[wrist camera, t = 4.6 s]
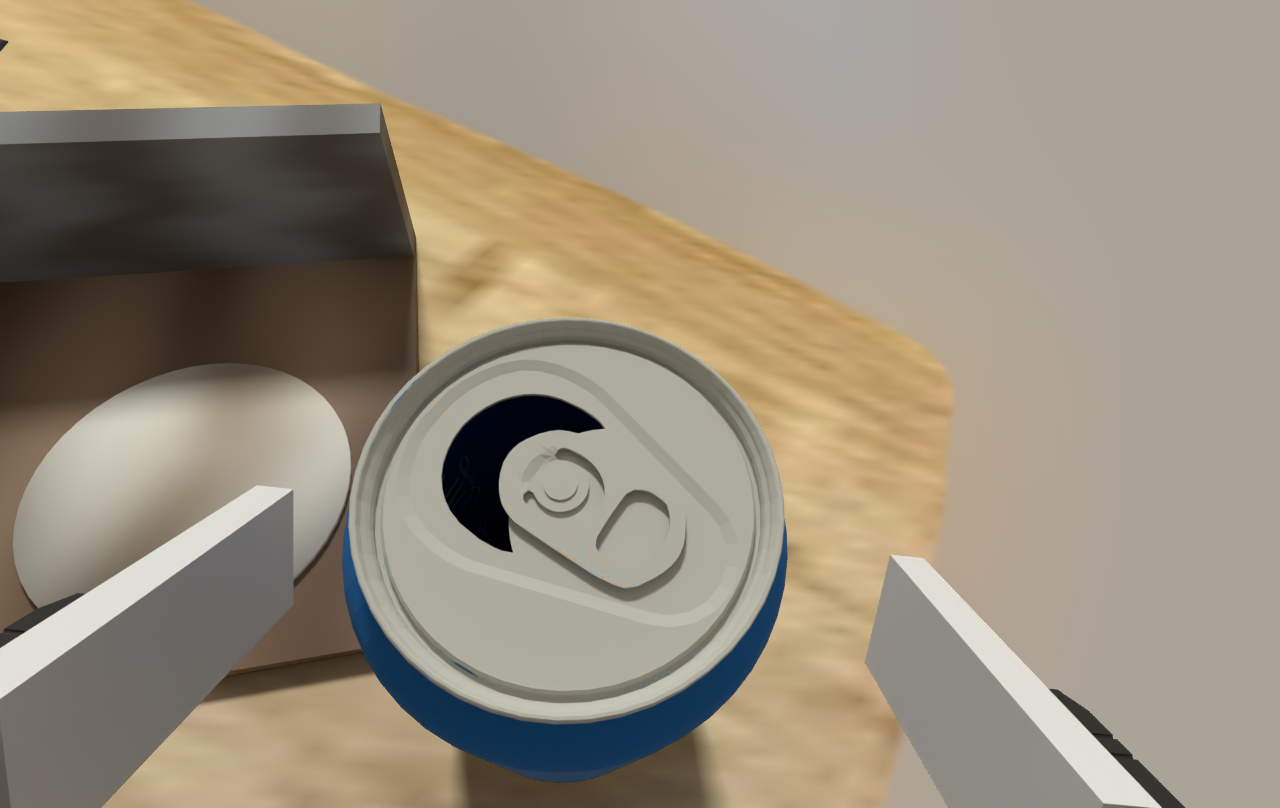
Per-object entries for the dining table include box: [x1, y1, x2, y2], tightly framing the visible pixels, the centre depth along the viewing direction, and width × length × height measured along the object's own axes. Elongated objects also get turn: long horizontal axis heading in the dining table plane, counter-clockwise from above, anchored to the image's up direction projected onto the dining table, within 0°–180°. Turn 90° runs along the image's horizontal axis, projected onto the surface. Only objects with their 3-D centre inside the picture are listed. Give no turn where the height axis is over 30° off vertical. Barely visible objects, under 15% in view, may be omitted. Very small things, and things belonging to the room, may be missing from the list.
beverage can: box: [342, 318, 787, 783], centre depth 14 cm, size 6×6×12 cm
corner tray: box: [0, 104, 419, 676], centre depth 18 cm, size 16×16×6 cm
